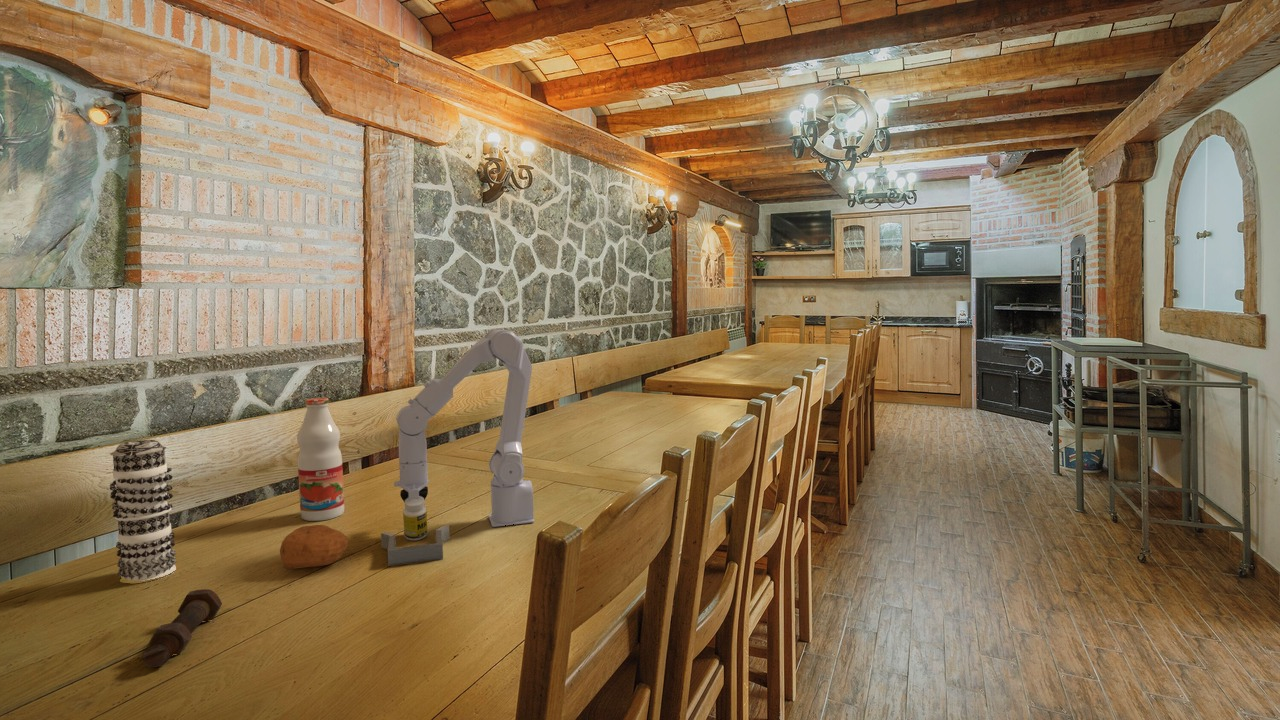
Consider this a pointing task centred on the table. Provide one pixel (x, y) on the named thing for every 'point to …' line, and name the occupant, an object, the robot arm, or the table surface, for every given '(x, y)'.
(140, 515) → the decorative candle
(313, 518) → the fruit juice
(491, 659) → the table surface
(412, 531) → the supplement bottle
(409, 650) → the table surface
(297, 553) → the potato
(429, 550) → the steel bracket
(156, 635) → the bolt
